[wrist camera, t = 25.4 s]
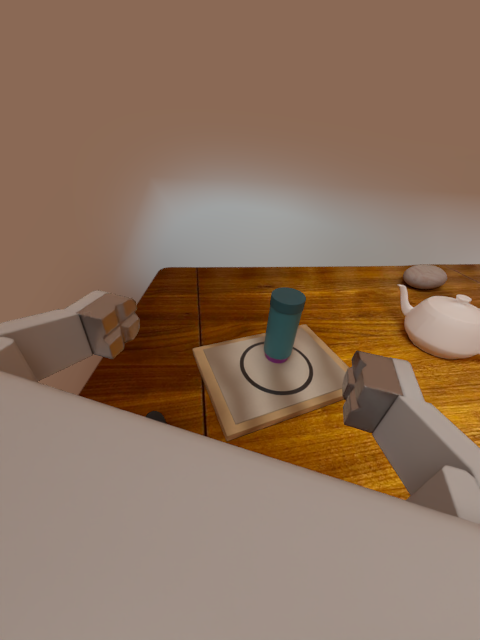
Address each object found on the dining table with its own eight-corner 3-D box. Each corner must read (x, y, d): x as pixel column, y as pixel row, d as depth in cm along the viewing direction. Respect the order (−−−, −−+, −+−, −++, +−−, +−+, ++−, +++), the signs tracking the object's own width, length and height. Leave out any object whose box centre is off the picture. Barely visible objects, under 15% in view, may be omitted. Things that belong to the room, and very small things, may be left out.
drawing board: (226, 441, 30) (227, 434, 29) (192, 353, 42) (192, 346, 41) (365, 391, 38) (369, 384, 37) (304, 329, 50) (305, 322, 49)
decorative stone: (423, 297, 64) (433, 279, 61) (391, 282, 71) (399, 265, 68) (449, 288, 70) (460, 271, 67) (417, 274, 76) (426, 258, 73)
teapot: (366, 324, 53) (386, 279, 47) (397, 308, 59) (417, 267, 53) (482, 390, 40) (529, 340, 34) (504, 360, 46) (547, 314, 40)
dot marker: (270, 368, 38) (282, 307, 32) (257, 349, 42) (265, 289, 35) (296, 361, 40) (312, 301, 34) (281, 343, 43) (293, 285, 37)
